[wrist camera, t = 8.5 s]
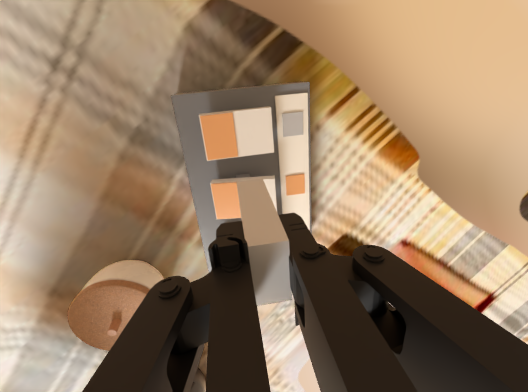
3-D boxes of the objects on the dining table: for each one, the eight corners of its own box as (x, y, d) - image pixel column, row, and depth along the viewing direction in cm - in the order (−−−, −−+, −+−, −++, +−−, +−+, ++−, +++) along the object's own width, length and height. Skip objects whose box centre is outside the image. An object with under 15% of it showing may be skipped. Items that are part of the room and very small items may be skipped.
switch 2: (277, 211, 30) (277, 216, 29) (218, 215, 31) (216, 220, 30) (274, 175, 29) (274, 179, 27) (212, 179, 29) (209, 183, 28)
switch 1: (272, 150, 28) (274, 152, 27) (207, 158, 27) (206, 161, 26) (269, 106, 26) (271, 107, 25) (199, 113, 26) (198, 115, 24)
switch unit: (303, 240, 40) (314, 261, 35) (210, 254, 39) (208, 278, 34) (299, 81, 31) (313, 82, 26) (177, 93, 30) (168, 96, 25)
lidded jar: (97, 240, 36) (58, 291, 27) (180, 252, 38) (167, 302, 30) (94, 301, 39) (58, 362, 31) (169, 308, 42) (155, 366, 33)
